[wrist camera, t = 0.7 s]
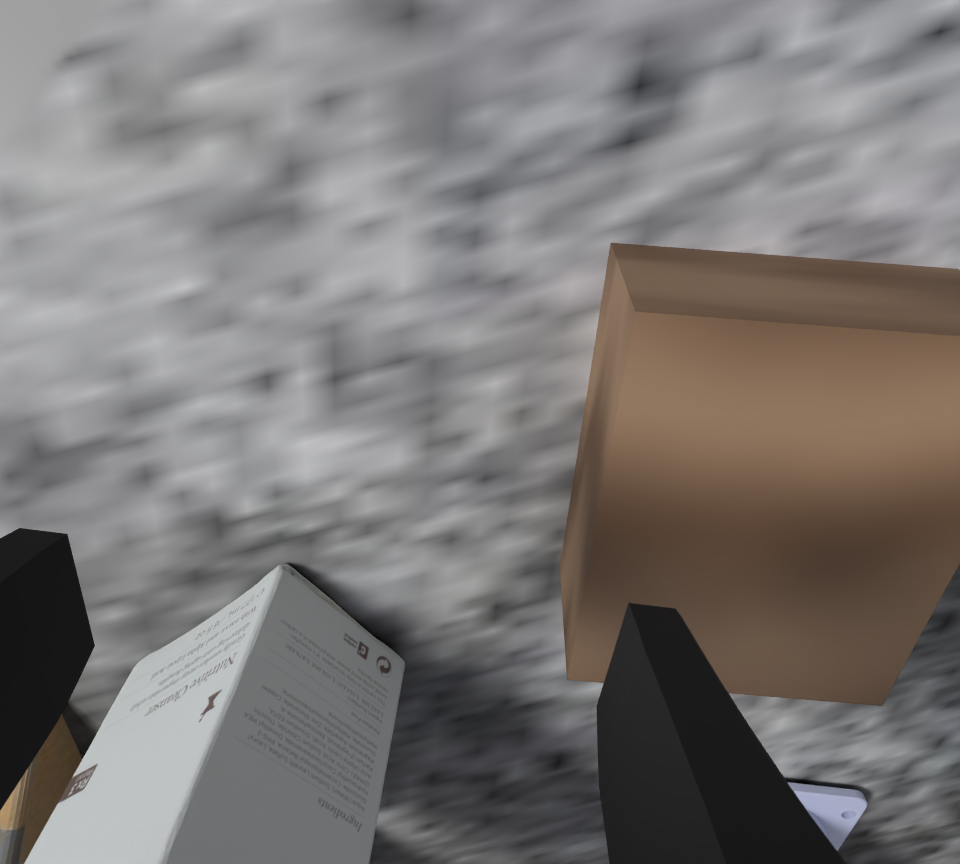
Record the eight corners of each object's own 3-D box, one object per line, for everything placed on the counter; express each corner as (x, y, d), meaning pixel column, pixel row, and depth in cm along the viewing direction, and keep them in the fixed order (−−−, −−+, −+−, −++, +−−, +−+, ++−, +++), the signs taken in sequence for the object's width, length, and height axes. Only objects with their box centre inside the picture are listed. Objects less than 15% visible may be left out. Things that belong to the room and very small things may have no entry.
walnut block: (819, 581, 22) (882, 705, 18) (559, 560, 22) (567, 679, 18) (951, 264, 17) (1078, 345, 13) (609, 239, 17) (635, 311, 13)
